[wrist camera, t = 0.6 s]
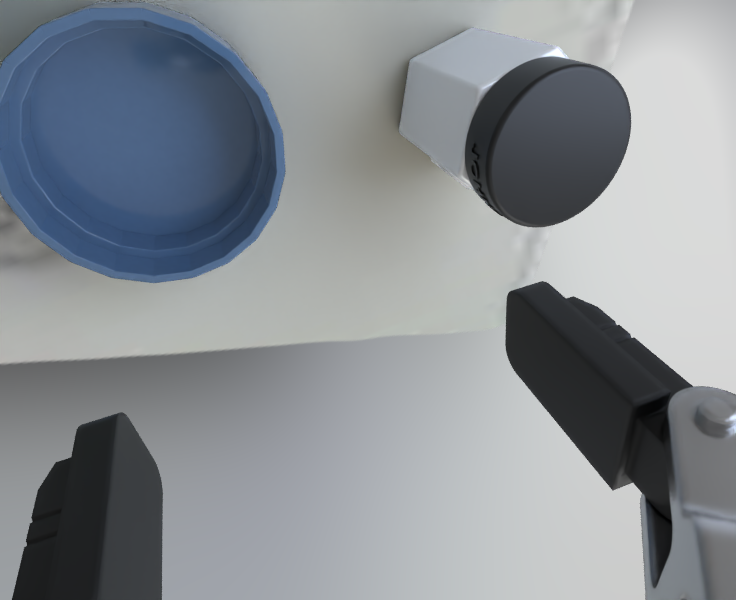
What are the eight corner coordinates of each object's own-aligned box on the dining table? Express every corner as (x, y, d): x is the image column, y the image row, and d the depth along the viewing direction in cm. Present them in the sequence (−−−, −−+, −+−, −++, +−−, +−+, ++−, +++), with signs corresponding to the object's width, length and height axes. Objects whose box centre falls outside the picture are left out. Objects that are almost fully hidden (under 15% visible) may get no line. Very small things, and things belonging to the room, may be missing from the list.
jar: (370, 115, 34) (448, 176, 25) (449, 0, 32) (568, 17, 22) (461, 184, 39) (555, 257, 29) (534, 88, 37) (663, 133, 27)
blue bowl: (-55, 58, 26) (-95, 76, 22) (207, -40, 27) (214, -40, 23) (107, 276, 34) (98, 318, 30) (303, 194, 36) (319, 224, 32)
